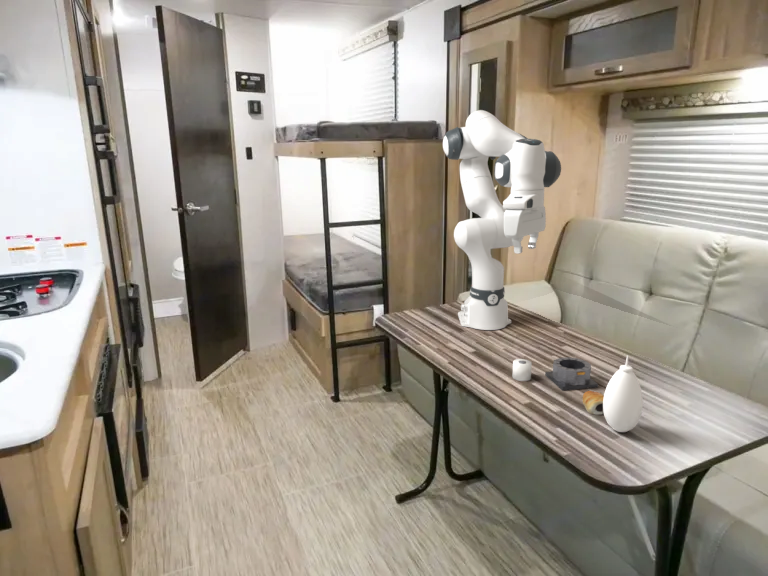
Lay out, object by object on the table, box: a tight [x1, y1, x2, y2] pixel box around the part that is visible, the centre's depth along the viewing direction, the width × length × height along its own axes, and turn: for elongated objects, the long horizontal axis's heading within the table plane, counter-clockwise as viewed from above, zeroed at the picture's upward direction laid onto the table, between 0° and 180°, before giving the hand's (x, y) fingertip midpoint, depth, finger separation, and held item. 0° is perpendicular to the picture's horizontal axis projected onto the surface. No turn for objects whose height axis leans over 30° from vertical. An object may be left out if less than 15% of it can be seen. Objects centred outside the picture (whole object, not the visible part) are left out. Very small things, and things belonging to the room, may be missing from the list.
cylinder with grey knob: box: [511, 358, 533, 382], centre depth 144 cm, size 5×5×5 cm
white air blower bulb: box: [603, 355, 644, 433], centre depth 114 cm, size 8×8×18 cm
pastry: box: [581, 390, 604, 416], centre depth 128 cm, size 9×7×4 cm
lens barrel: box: [545, 356, 599, 391], centre depth 141 cm, size 10×10×5 cm
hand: (525, 250), depth 144 cm, fingers open, 8 cm apart
